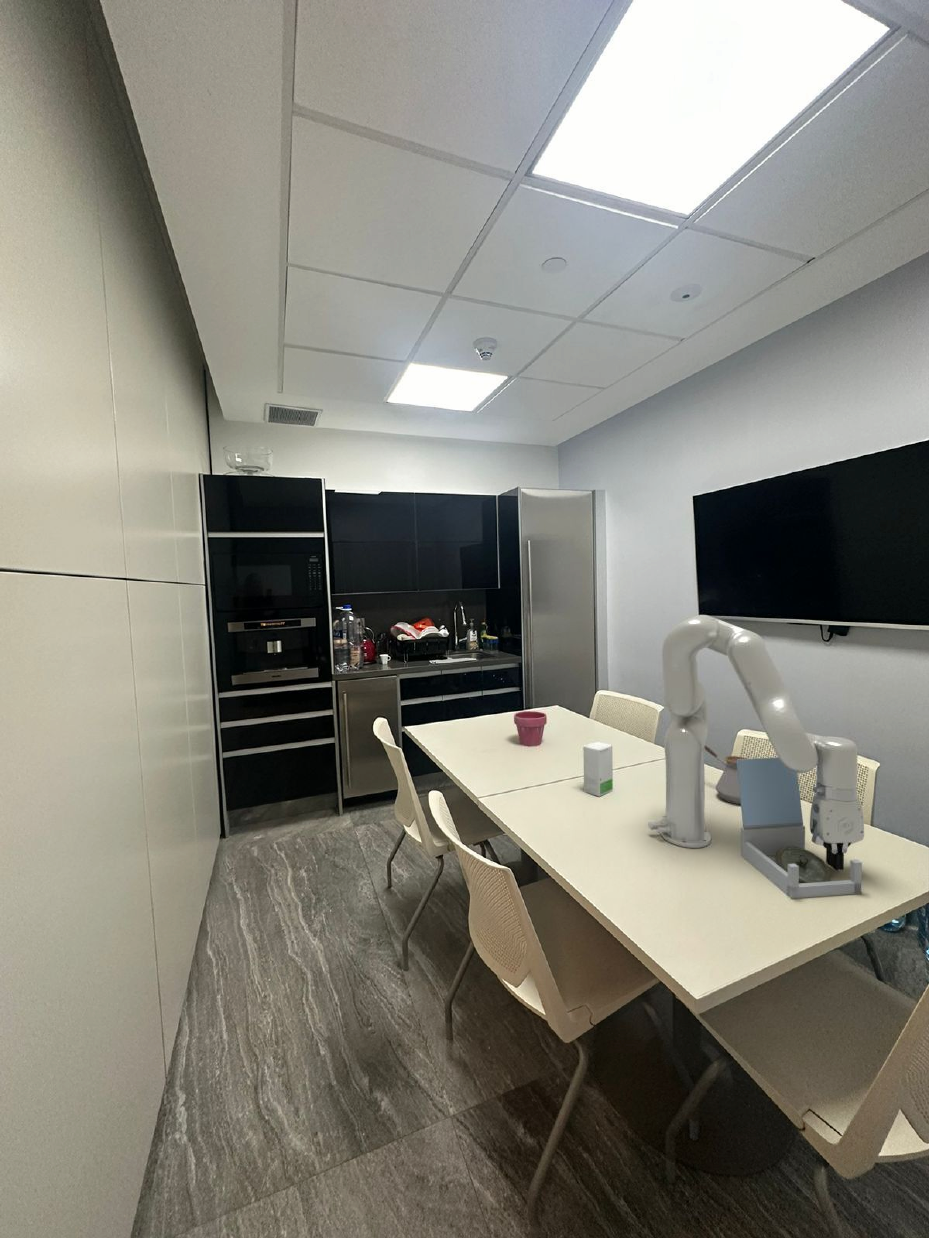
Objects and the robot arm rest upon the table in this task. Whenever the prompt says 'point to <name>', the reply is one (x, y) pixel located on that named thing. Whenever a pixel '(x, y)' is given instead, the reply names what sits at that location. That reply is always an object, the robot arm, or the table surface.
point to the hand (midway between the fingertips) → (834, 866)
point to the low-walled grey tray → (774, 838)
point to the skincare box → (598, 768)
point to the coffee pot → (728, 779)
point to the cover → (768, 793)
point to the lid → (803, 864)
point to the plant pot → (530, 727)
